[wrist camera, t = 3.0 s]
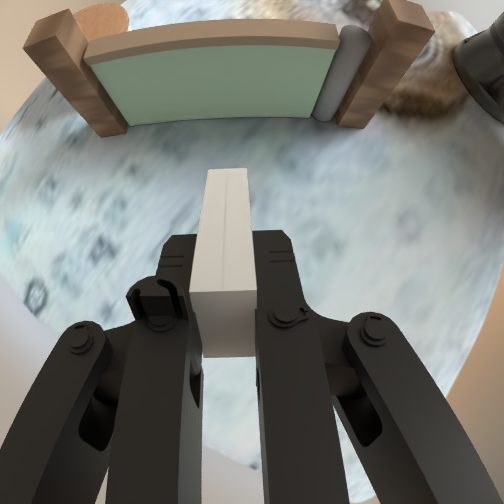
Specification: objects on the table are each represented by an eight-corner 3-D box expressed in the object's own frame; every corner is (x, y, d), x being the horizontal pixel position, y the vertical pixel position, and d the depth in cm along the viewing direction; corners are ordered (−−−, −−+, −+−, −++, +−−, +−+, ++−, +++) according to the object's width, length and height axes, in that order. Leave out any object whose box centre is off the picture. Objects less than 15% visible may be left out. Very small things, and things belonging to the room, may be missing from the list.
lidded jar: (66, 122, 29) (25, 81, 20) (66, 63, 30) (37, 21, 21) (149, 88, 30) (125, 33, 21) (140, 32, 31) (121, -18, 22)
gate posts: (359, 105, 30) (421, 5, 14) (364, 128, 30) (435, 31, 14) (104, 114, 29) (36, 21, 14) (100, 137, 29) (22, 48, 13)
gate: (332, 103, 30) (368, 28, 18) (335, 122, 30) (375, 48, 18) (132, 110, 29) (90, 38, 17) (129, 129, 29) (82, 60, 17)
